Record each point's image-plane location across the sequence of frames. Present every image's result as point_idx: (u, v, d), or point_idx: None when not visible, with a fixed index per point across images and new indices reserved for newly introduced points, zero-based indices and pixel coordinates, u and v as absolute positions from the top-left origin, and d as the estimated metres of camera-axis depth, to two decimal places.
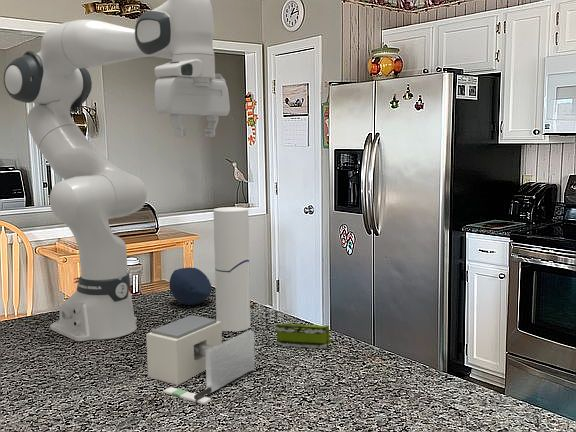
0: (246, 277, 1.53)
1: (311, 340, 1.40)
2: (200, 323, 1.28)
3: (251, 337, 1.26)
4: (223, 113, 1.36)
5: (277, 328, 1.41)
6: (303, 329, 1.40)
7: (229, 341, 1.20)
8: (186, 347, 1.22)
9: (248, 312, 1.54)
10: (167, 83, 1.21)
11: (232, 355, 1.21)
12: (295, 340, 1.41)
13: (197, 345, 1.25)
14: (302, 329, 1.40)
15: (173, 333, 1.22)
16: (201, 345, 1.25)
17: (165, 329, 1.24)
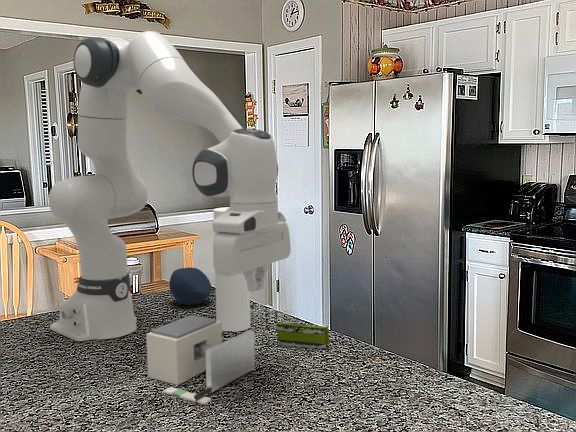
0: None
1: (310, 340, 1.40)
2: (200, 323, 1.28)
3: (251, 337, 1.26)
4: (284, 257, 1.21)
5: (277, 327, 1.42)
6: (302, 329, 1.40)
7: (229, 341, 1.20)
8: (186, 347, 1.22)
9: (248, 312, 1.54)
10: (228, 243, 1.06)
11: (232, 355, 1.21)
12: (295, 340, 1.42)
13: (197, 345, 1.25)
14: (301, 329, 1.40)
15: (173, 333, 1.22)
16: (201, 345, 1.25)
17: (165, 329, 1.24)
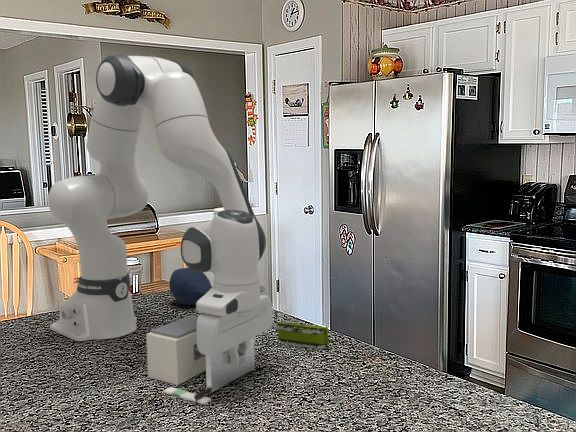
0: None
1: (309, 340, 1.40)
2: None
3: None
4: (266, 329, 1.25)
5: (277, 326, 1.42)
6: (301, 329, 1.40)
7: None
8: (186, 347, 1.22)
9: None
10: (211, 325, 1.11)
11: None
12: (294, 339, 1.42)
13: None
14: (300, 329, 1.40)
15: (173, 333, 1.22)
16: None
17: (165, 329, 1.24)
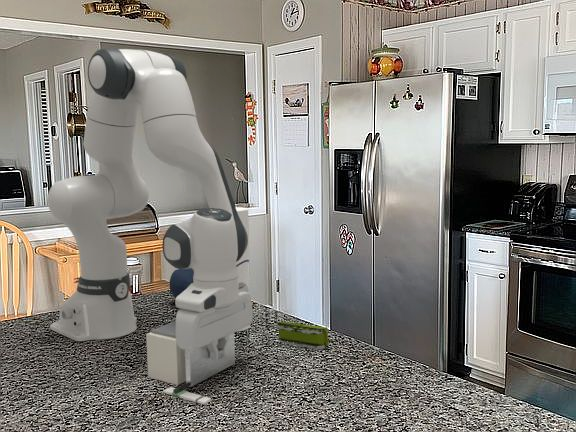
0: (246, 277, 1.53)
1: (309, 340, 1.40)
2: None
3: (231, 333, 1.28)
4: (246, 325, 1.28)
5: (277, 325, 1.43)
6: (301, 329, 1.40)
7: None
8: None
9: None
10: (189, 321, 1.13)
11: None
12: (294, 339, 1.42)
13: None
14: (300, 328, 1.40)
15: (173, 333, 1.22)
16: None
17: (165, 329, 1.24)
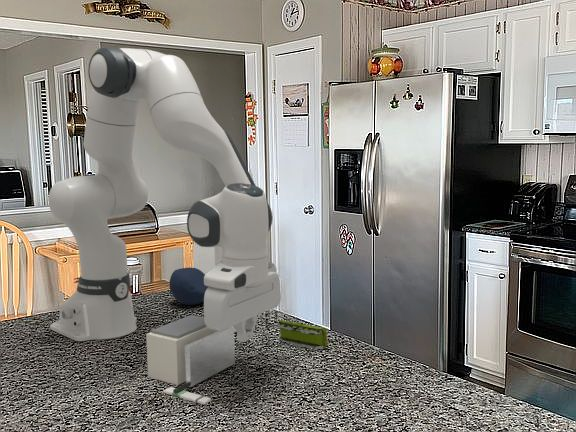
0: None
1: (308, 340, 1.40)
2: (200, 323, 1.28)
3: (231, 333, 1.28)
4: (274, 306, 1.23)
5: (278, 324, 1.44)
6: (300, 328, 1.40)
7: (209, 337, 1.23)
8: None
9: None
10: (219, 299, 1.09)
11: (212, 350, 1.23)
12: (294, 338, 1.42)
13: None
14: (299, 328, 1.40)
15: (173, 333, 1.22)
16: None
17: (165, 329, 1.24)
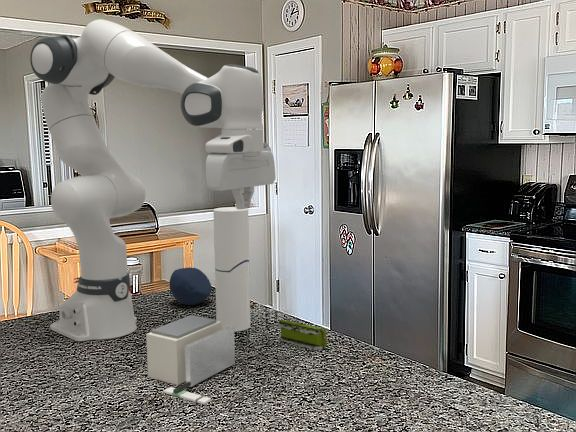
0: (246, 277, 1.53)
1: (307, 340, 1.40)
2: (200, 323, 1.28)
3: (231, 333, 1.28)
4: (269, 182, 1.36)
5: (278, 324, 1.44)
6: (299, 328, 1.40)
7: (209, 337, 1.23)
8: None
9: (248, 312, 1.54)
10: (219, 161, 1.21)
11: (212, 350, 1.23)
12: (294, 338, 1.43)
13: None
14: (298, 328, 1.40)
15: (173, 333, 1.22)
16: None
17: (165, 329, 1.24)
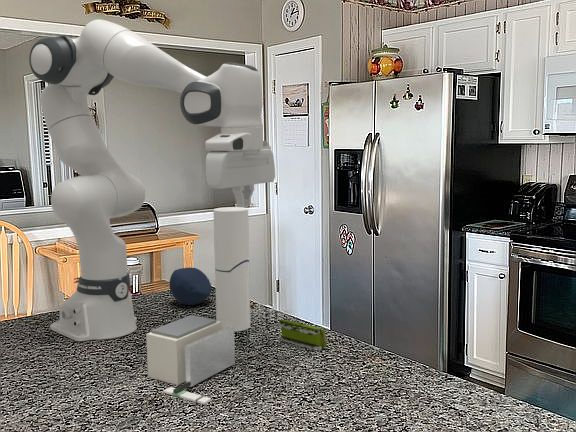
0: (246, 277, 1.53)
1: (307, 340, 1.40)
2: (200, 323, 1.28)
3: (231, 333, 1.28)
4: (269, 180, 1.36)
5: (279, 323, 1.44)
6: (299, 328, 1.40)
7: (209, 337, 1.23)
8: None
9: (248, 312, 1.54)
10: (219, 159, 1.21)
11: (212, 350, 1.23)
12: (294, 338, 1.43)
13: None
14: (298, 328, 1.41)
15: (173, 333, 1.22)
16: None
17: (165, 329, 1.24)
